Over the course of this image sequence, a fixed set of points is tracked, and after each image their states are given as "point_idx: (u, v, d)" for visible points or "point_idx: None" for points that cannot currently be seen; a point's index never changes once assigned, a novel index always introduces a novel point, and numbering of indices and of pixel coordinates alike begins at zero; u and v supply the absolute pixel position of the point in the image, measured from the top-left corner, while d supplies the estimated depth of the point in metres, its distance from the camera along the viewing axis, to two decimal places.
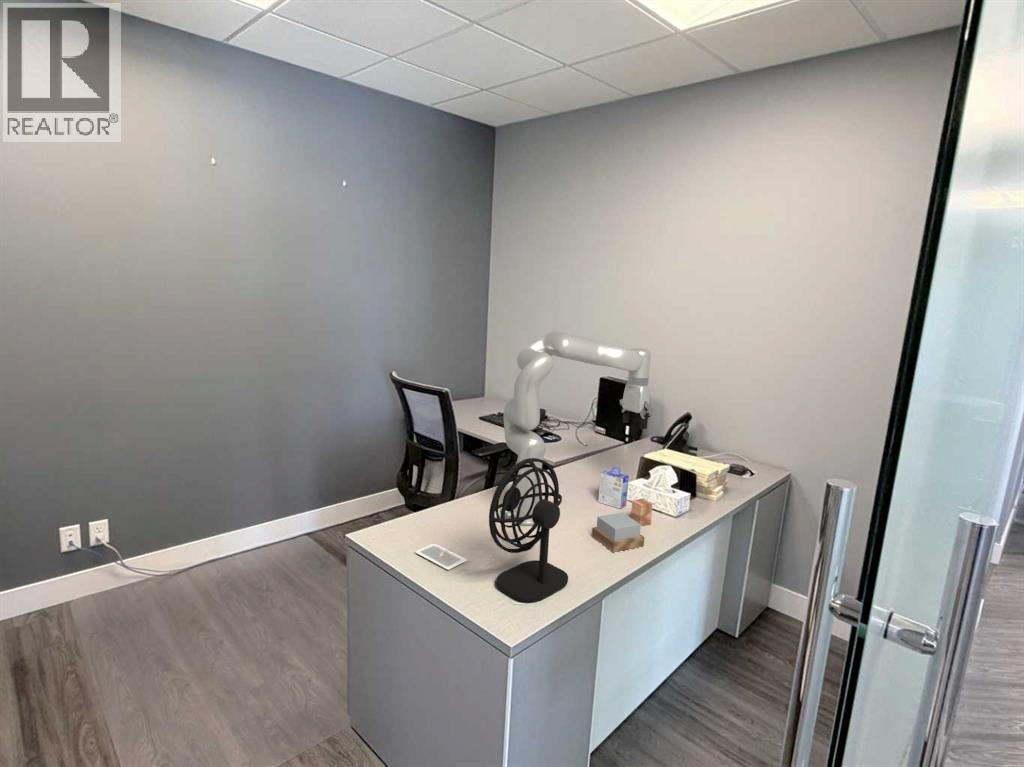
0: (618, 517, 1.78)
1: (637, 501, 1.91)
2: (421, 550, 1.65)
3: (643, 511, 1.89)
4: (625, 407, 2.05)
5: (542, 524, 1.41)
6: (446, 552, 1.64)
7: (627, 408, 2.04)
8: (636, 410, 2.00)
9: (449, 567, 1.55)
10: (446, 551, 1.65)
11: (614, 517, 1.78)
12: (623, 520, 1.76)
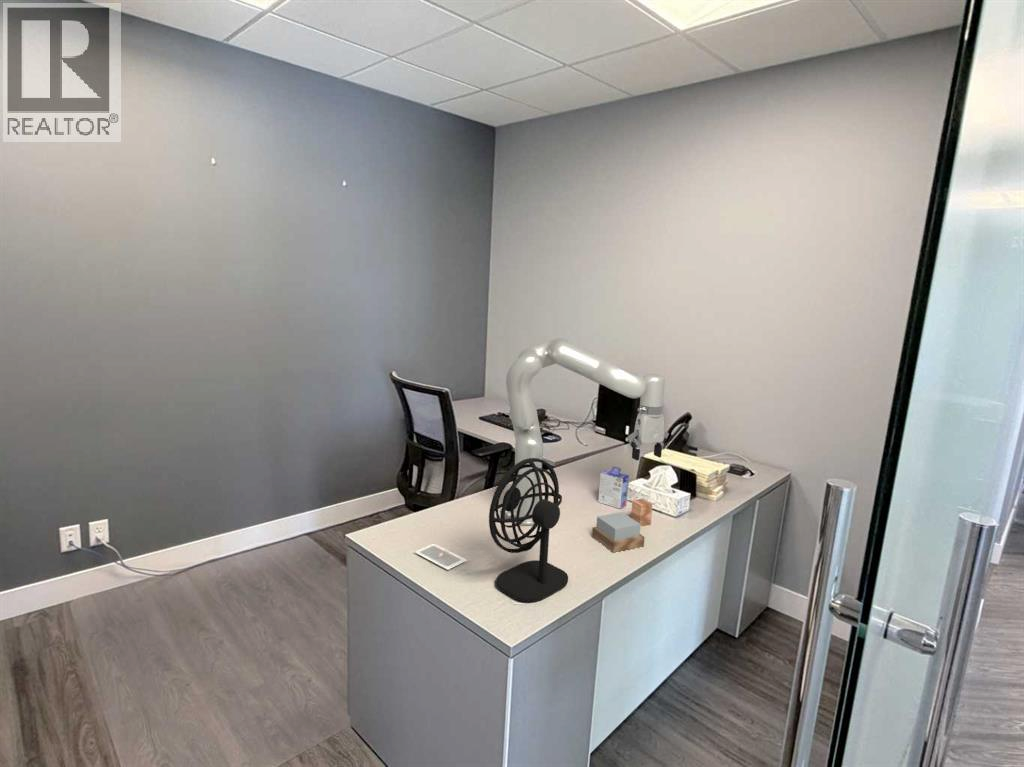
0: (618, 517, 1.78)
1: (637, 501, 1.91)
2: (421, 550, 1.65)
3: (643, 511, 1.89)
4: (647, 441, 1.83)
5: (542, 524, 1.41)
6: (446, 552, 1.64)
7: (649, 441, 1.84)
8: (661, 439, 1.86)
9: (449, 567, 1.55)
10: (446, 551, 1.64)
11: (613, 517, 1.78)
12: (623, 520, 1.76)
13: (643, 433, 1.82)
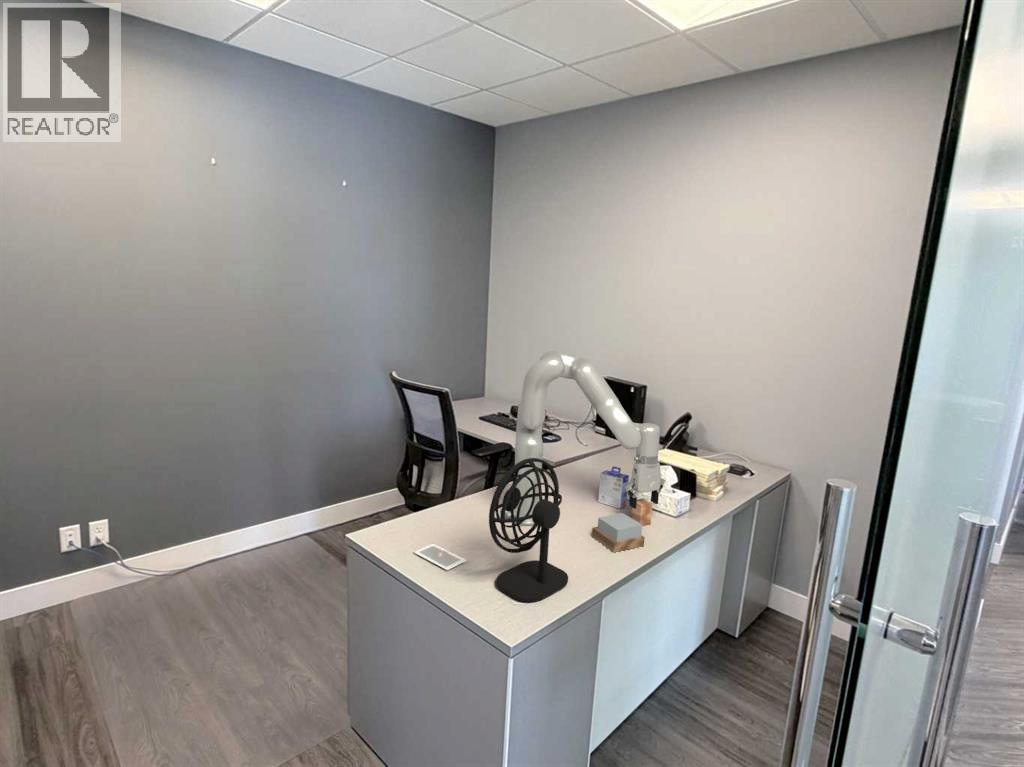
0: (619, 518, 1.78)
1: (637, 501, 1.91)
2: (420, 550, 1.64)
3: (643, 511, 1.89)
4: (644, 490, 1.86)
5: (542, 524, 1.41)
6: (445, 552, 1.64)
7: (646, 490, 1.87)
8: (657, 487, 1.89)
9: (448, 567, 1.55)
10: (445, 551, 1.64)
11: (614, 518, 1.78)
12: (625, 521, 1.76)
13: (639, 482, 1.85)
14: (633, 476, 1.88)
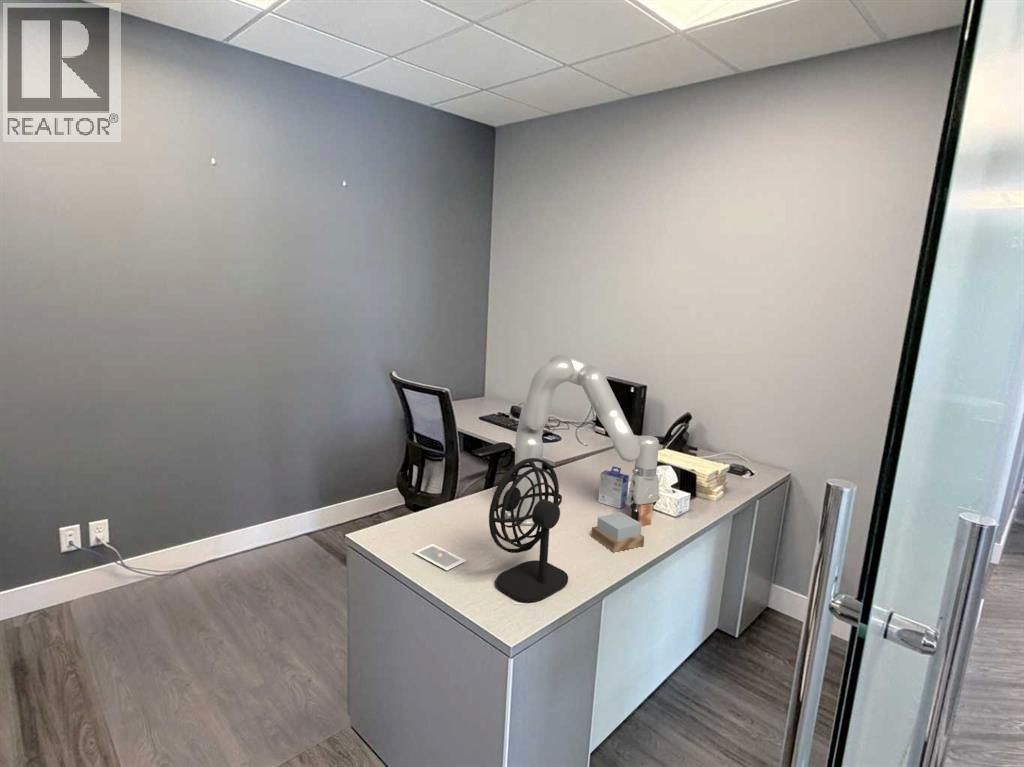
0: (618, 517, 1.78)
1: None
2: (420, 550, 1.64)
3: (643, 511, 1.89)
4: (642, 502, 1.87)
5: (542, 524, 1.41)
6: (445, 553, 1.64)
7: (644, 502, 1.88)
8: (655, 499, 1.90)
9: (448, 568, 1.55)
10: (445, 552, 1.64)
11: (614, 517, 1.78)
12: (624, 520, 1.76)
13: (638, 494, 1.86)
14: (631, 488, 1.88)
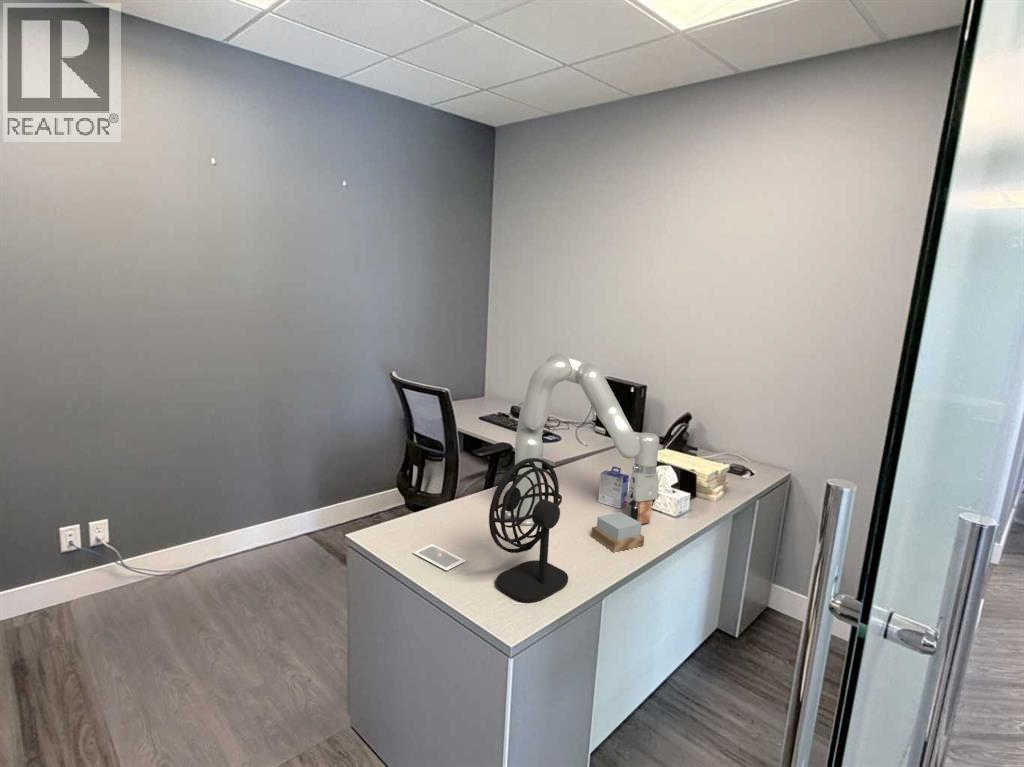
0: (618, 517, 1.78)
1: None
2: (419, 551, 1.64)
3: (643, 508, 1.89)
4: (641, 499, 1.87)
5: (542, 524, 1.41)
6: (444, 553, 1.64)
7: (643, 499, 1.87)
8: (654, 497, 1.90)
9: (447, 568, 1.55)
10: (444, 552, 1.64)
11: (613, 517, 1.78)
12: (624, 520, 1.76)
13: (637, 491, 1.86)
14: (631, 485, 1.88)
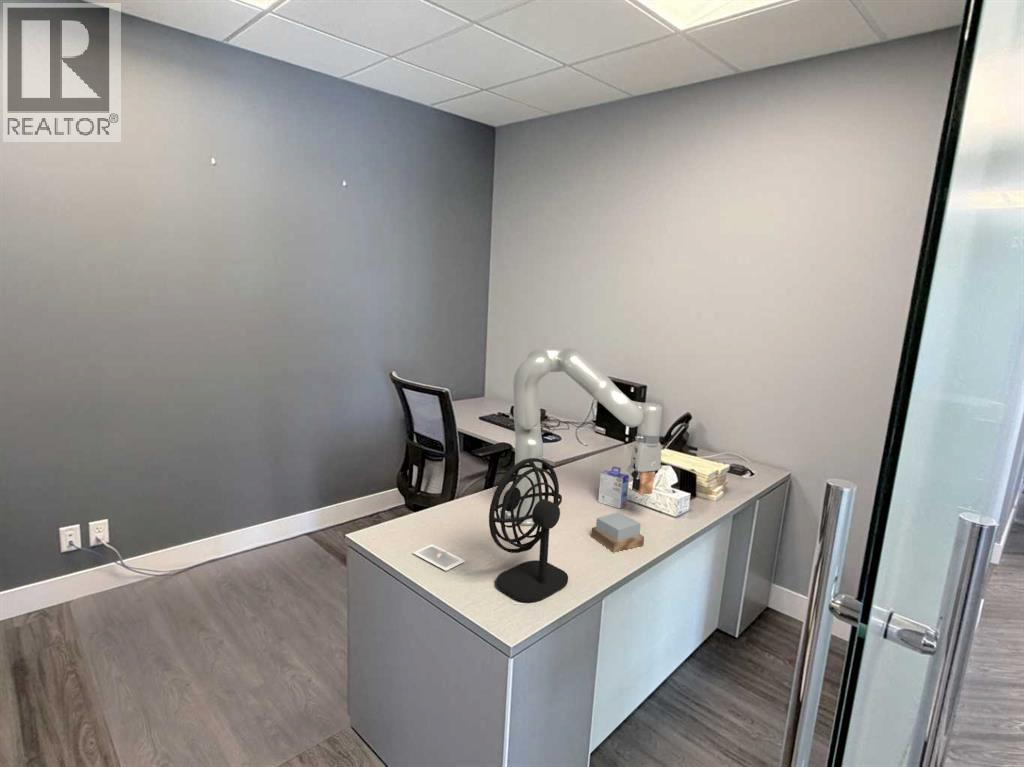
0: (617, 517, 1.78)
1: None
2: (419, 551, 1.64)
3: (645, 479, 1.87)
4: (643, 470, 1.85)
5: (542, 524, 1.41)
6: (444, 553, 1.64)
7: (646, 470, 1.86)
8: (657, 468, 1.88)
9: (447, 568, 1.55)
10: (444, 552, 1.64)
11: (612, 517, 1.78)
12: (623, 520, 1.76)
13: (640, 461, 1.84)
14: (633, 455, 1.86)
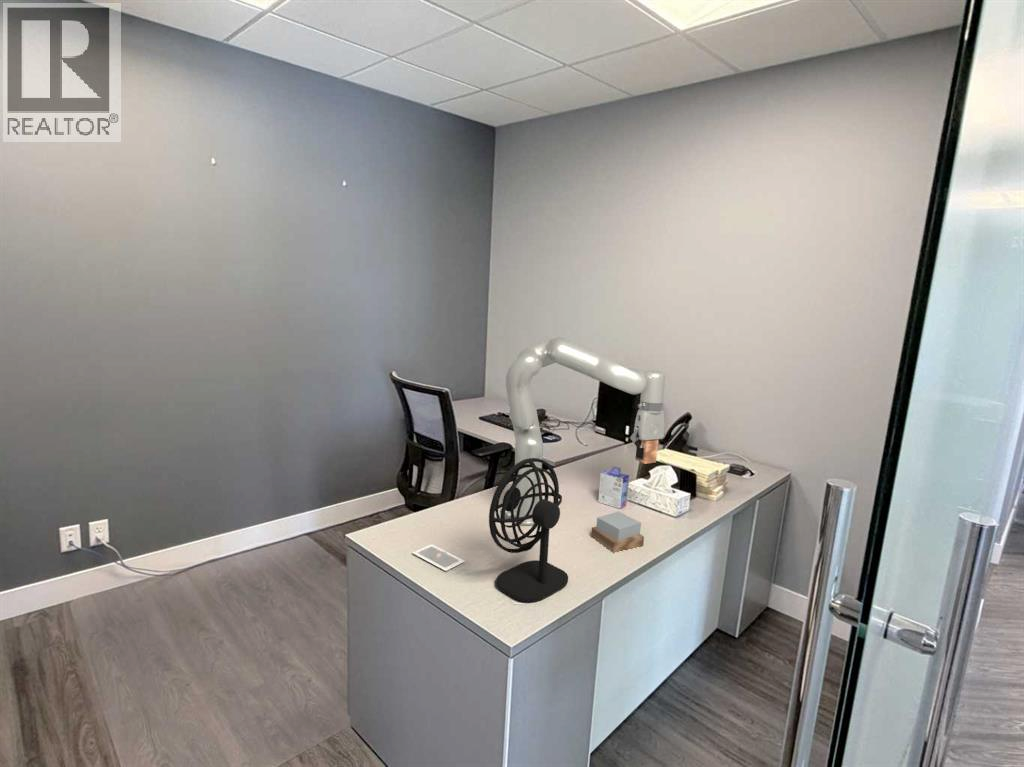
0: (617, 516, 1.79)
1: None
2: (419, 551, 1.64)
3: (649, 447, 1.85)
4: (647, 438, 1.83)
5: (542, 524, 1.41)
6: (444, 553, 1.63)
7: (649, 438, 1.84)
8: (661, 436, 1.86)
9: (447, 568, 1.55)
10: (444, 552, 1.64)
11: (613, 517, 1.78)
12: (623, 519, 1.77)
13: (643, 429, 1.82)
14: (636, 423, 1.84)
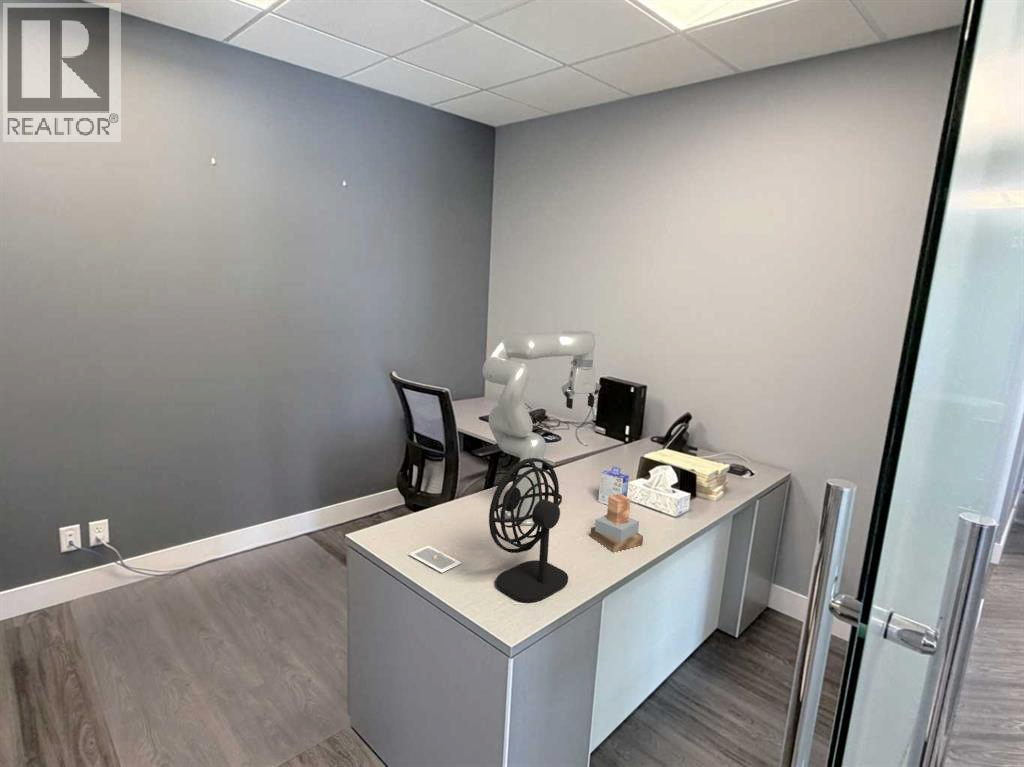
0: None
1: (614, 497, 1.75)
2: (415, 552, 1.63)
3: (621, 508, 1.72)
4: (579, 391, 2.04)
5: (542, 524, 1.41)
6: (440, 554, 1.62)
7: (581, 391, 2.04)
8: (592, 390, 2.06)
9: (443, 570, 1.54)
10: (440, 553, 1.63)
11: None
12: None
13: (575, 383, 2.03)
14: (570, 379, 2.05)
